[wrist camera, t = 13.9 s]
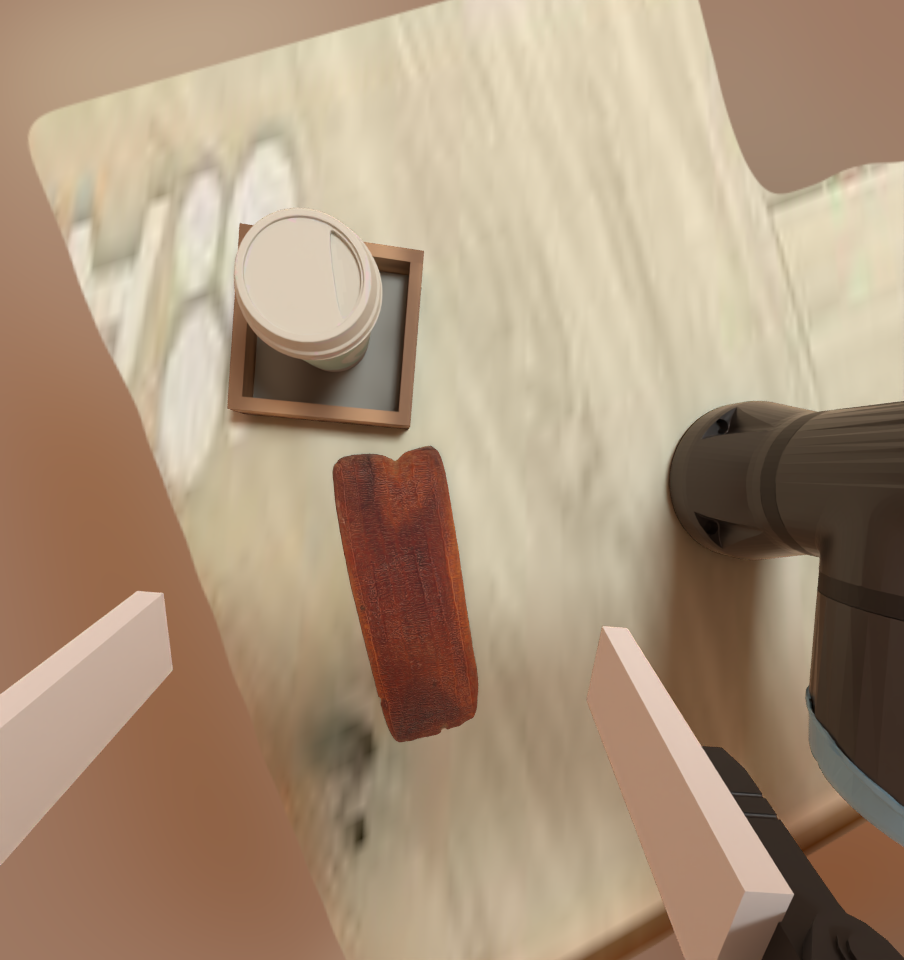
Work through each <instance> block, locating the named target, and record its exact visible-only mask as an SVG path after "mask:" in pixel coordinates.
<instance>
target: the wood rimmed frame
mask: <svg viewBox="0 0 904 960" xmlns="http://www.w3.org/2000/svg"><path fill="white" fill-rule="evenodd" d="M253 226H254V225H247V224H241V223H240V227H239V242H238V249H239V246H240V244H241V242H242V240H243V238H244V237H245V235H246V234H247V232H248V231H249V230H250V229H251V227H253ZM364 243H365V245H366V246H367V248H368V249H369V251H370V252H371V254H372V256H373V258H374V260H375V262H376V264H377V267H378V270H379V273H380V277H381V282H382V305H381V309H380V313H379V316H378V319H377V321H376V323H375V325H374V327H373V329H372V330H371V335H370V340H369V344H368V348H367V351H366V353H365V355H364V357H363V358H362V360H361V361H360V362H359V363H358V364H357V365H355V366H354V367H352V368H351V369H348V370H346V371H342V372H328V371H324V370H321V369H319V368H317V367H315V366H313V365H311V364H309V363H308V362H306V361H304V360H302V359H298V358H294V357H291V356H288V355H285V354H283V353H281V352H279V351H277V350H275V349H273V348H272V347H270V346H269V345H267V344H266V343H265V342H264V341H263V340H261V339H260V338H259V337H258V336H257V335H256V334H255V332H254V331H253V330H252V329H251V327H250V326H249V324H248V323H247V321H246V319H245V318H244V316H243V313H242V311H241V309H240V306H239V304H238V301H237V297H236V293H235V302H234V316H233V331H232V346H231V361H230V376H229V391H228V406H227V408H228V409H231V410H234V411H237V412H240V413H243V414H253V415H264V416H274V417H285V418H296V419H307V420H317V421H328V422H339V423H349V424H360V425H371V426H382V427H392V428H403V429H409V427H410V421H411V409H412V396H413V383H414V371H415V358H416V345H417V333H418V320H419V307H420V295H421V282H422V269H423V257H424V251H420V250H414V249H407V248H401V247H394V246H387V245H381V244H374V243H367V242H364Z"/></svg>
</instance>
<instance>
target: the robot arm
mask: <svg viewBox="0 0 904 960" xmlns="http://www.w3.org/2000/svg"><path fill="white" fill-rule="evenodd" d="M670 493H671V499H672V503H673V506H674V509H675V512H676V515H677V517H678V519H679V521H680V522H681V524H682V526H683V527H684V529H685V530H686V531H687V532H688V533H689V535H690V536H691V537H692V538H693V539H694V540H696V541H697V542H698V543H699V544H701V545H702V546H704V547H706V548H707V549H710V550H712V551H714V552H717V553H721V554H724V555H728V556H731V557H735V558H740V559H748V560H760V559H770V558H779V557H788V556H798V555H811V556H816V557H820V561H819V578H818V588H817V600H816V611H815V623H814V635H813V647H812V659H811V671H810V683H809V686H808V687H807V689H806V697H805V699H806V705H807V708H808V711H809V744H810V748H811V752H812V754H813V756H814V758H815V759H816V761H817V762H818V765H819V768H820V769H821V771H822V773H823V775H824V776H825V778H826V779H827V780H828V782H829V783H830V784H831V785H832V787H833V788H834V789H835V790H836V791H837V792H838V793H839V795H840V796H841V797H842V798H843V799H844V800H845V801H846V802H847V803H848V804H849V805H850V806H852V807H853V808H854V809H855V810H856V811H857V812H858V813H859V814H860V815H862V816H863V817H864V818H865V819H866V820H868V821H869V822H870V823H871V824H873V825H874V826H875V827H876V828H878V829H879V830H880V831H882V832H883V833H884V834H886V835H887V836H888V837H890V838H891V839H893V840H894V841H896V842H897V843H898V844H900V845H902V846H903V847H904V401H901V402H893V403H885V404H877V405H869V406H861V407H853V408H845V409H836V410H829V411H821V412H816V411H811V410H806V409H802V408H797V407H792V406H787V405H783V404H778V403H773V402H767V401H748V402H742V403H736V404H730V405H725V406H722V407H719V408H716V409H714V410H712V411H710V412H708V413H707V414H705V415H704V416H702V417H701V418H700V419H698V420H697V421H696V422H695V423H694V424H693V425H692V426H691V427H690V428H689V429H688V431H687V432H686V433H685V435H684V436H683V438H682V439H681V441H680V443H679V445H678V447H677V449H676V452H675V455H674V457H673V461H672V466H671V472H670ZM172 671H173V666H172V659H171V650H170V642H169V634H168V626H167V618H166V610H165V602H164V594H163V593H156V592H143V591H137V592H135V593H134V594H133V595H131V596H130V597H129V598H127V599H126V600H125V601H124V602H122V603H121V604H120V605H118V606H117V607H116V608H114V609H113V610H112V611H110V612H109V613H108V614H106V615H105V616H104V617H102V618H101V619H100V620H98V621H97V622H96V623H94V624H93V625H92V626H90V627H89V628H88V629H86V630H85V631H84V632H83V633H81V634H80V635H78V636H77V637H76V638H74V639H73V640H72V641H71V642H69V643H68V644H67V645H65V646H64V647H63V648H61V649H60V650H59V651H57V652H56V653H55V654H53V655H52V656H51V657H49V658H48V659H47V660H45V661H44V662H43V663H41V664H40V665H39V666H37V667H36V668H35V669H33V670H32V671H31V672H30V673H28V674H27V675H25V676H24V677H23V678H21V679H20V680H19V681H18V682H16V683H15V684H13V685H12V686H11V687H10V688H8V689H7V690H6V691H4V692H3V693H2V694H0V865H1V864H2V863H3V862H4V861H5V860H6V859H7V857H8V856H9V855H10V854H11V853H12V852H13V851H14V849H15V848H16V847H17V846H18V845H19V844H20V843H21V842H22V840H23V839H24V838H25V837H26V836H27V835H28V834H29V832H30V831H31V830H32V829H33V828H34V827H35V826H36V825H37V823H38V822H39V821H40V820H41V819H42V818H43V816H45V814H46V813H47V812H48V811H49V810H50V809H51V808H52V806H53V805H54V804H55V803H56V802H57V801H58V800H59V799H60V797H61V796H62V795H63V794H64V793H65V792H66V791H67V789H68V788H69V787H70V786H71V785H72V784H73V783H74V782H75V780H76V779H77V778H78V777H79V776H80V775H81V773H83V771H84V770H85V769H86V768H87V767H88V766H89V765H90V763H91V762H92V761H93V760H94V759H95V758H96V756H97V755H98V754H99V753H100V752H101V751H102V750H103V749H104V748H105V747H106V745H107V744H108V743H109V742H110V741H111V739H112V738H113V737H114V736H115V735H116V734H117V733H118V732H119V731H120V730H121V728H122V727H123V726H124V725H125V724H126V723H127V722H128V720H129V719H130V718H131V717H132V716H133V715H134V714H135V713H136V711H137V710H138V709H139V708H140V707H141V706H142V705H143V704H144V702H145V701H146V700H147V699H148V698H149V697H150V696H151V694H152V693H153V692H154V691H155V690H156V689H157V688H158V687H159V685H160V684H161V683H162V682H163V681H164V680H165V679H166V677H167V676H168V675H169V674H170V673H171V672H172ZM587 702H588V705H589V708H590V710H591V713H592V716H593V718H594V721H595V724H596V726H597V729H598V731H599V734H600V737H601V739H602V742H603V745H604V747H605V750H606V753H607V755H608V758H609V761H610V763H611V766H612V768H613V771H614V774H615V776H616V779H617V782H618V784H619V787H620V790H621V792H622V795H623V797H624V800H625V803H626V805H627V808H628V811H629V813H630V816H631V819H632V821H633V824H634V826H635V829H636V832H637V834H638V837H639V840H640V842H641V845H642V848H643V850H644V853H645V855H646V858H647V861H648V863H649V866H650V869H651V871H652V874H653V877H654V879H655V882H656V885H657V887H658V890H659V892H660V895H661V898H662V900H663V903H664V906H665V908H666V911H667V914H668V916H669V919H670V921H671V924H672V927H673V929H674V932H675V935H676V937H677V940H678V943H679V945H680V948H681V950H682V953H683V955H684V958H685V960H904V958H903V957H902V956H901V955H900V953H899V952H898V951H897V950H896V949H895V948H894V947H893V946H892V945H891V944H890V943H889V942H888V941H887V940H886V939H885V938H884V937H882V936H881V935H880V934H879V933H877V932H876V931H875V930H874V929H872V928H871V927H870V926H868V925H867V924H866V923H864V922H862V921H860V920H858V919H857V918H855V917H853V916H851V915H849V914H847V913H846V912H845V911H844V910H843V908H842V907H841V906H840V905H839V904H838V902H837V901H836V899H835V898H834V896H833V895H832V893H831V892H830V891H829V889H828V888H827V887H826V885H825V884H824V882H823V881H822V879H821V878H820V876H819V875H818V873H817V872H816V870H815V869H814V868H813V866H812V865H811V863H810V862H809V860H808V859H807V857H806V856H805V855H804V853H803V852H802V850H801V849H800V847H799V846H798V845H797V843H796V842H795V840H794V839H793V837H792V836H791V834H790V833H789V832H788V830H787V829H786V827H785V826H784V824H783V823H782V822H781V820H778V819H777V816H776V813H775V811H774V810H773V809H772V807H771V806H770V804H769V803H768V801H767V800H766V799H765V798H763V797H762V793H761V791H760V790H759V788H758V787H757V786H756V784H755V783H754V781H753V780H752V778H751V777H750V776H749V774H748V773H747V771H746V770H745V769H744V768H743V767H742V766H741V765H740V764H739V763H738V762H737V761H736V760H735V759H734V758H732V757H731V756H730V755H729V754H728V753H727V752H726V751H725V750H724V749H723V748H720V747H705V746H701V745H700V743H699V742H698V740H697V738H696V737H695V735H694V734H693V732H692V730H691V729H690V727H689V726H688V724H687V722H686V721H685V719H684V718H683V716H682V714H681V713H680V711H679V710H678V708H677V706H676V705H675V703H674V702H673V700H672V698H671V697H670V695H669V694H668V692H667V690H666V689H665V687H664V686H663V684H662V683H661V681H660V679H659V678H658V676H657V675H656V673H655V671H654V670H653V668H652V667H651V665H650V663H649V662H648V660H647V659H646V657H645V655H644V654H643V652H642V651H641V649H640V647H639V646H638V644H637V643H636V641H635V639H634V638H633V636H632V635H631V633H630V631H629V630H628V628H621V627H608V626H602V630H601V634H600V639H599V644H598V648H597V653H596V658H595V663H594V667H593V672H592V677H591V681H590V686H589V691H588V695H587Z"/></svg>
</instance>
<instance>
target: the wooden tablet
mask: <svg viewBox="0 0 904 960" xmlns="http://www.w3.org/2000/svg"><path fill="white" fill-rule="evenodd" d="M333 478H334V488H335V500H336V508H337V514H338V520H339V525H340V532H341V537H342V543H343V548H344V554H345V558H346V564H347V568H348V573H349V578H350V583H351V587H352V592H353V595H354V599H355V603H356V607H357V612H358V615H359V620H360V624H361V629H362V633H363V636H364V640H365V644H366V648H367V653H368V656H369V660H370V664H371V668H372V673H373V676H374V680H375V684H376V688H377V692H378V696H379V697H380V698H381V706H382V709H383V713H384V716H385V719H386V722H387V725H388V728H389V730H390V732H391V734H392V736H393V737H394V739H395V740H396V741H398V742H404V741H412V740H415V739H417V738H422V737H427V736H432V735H437V734H439V733H440V732H441V730H442V729H443V728H445V729H450V728H453V727H457V726H460V725H461V724H463V723H464V722H465V721H467V720H469V719H471V718H473V717H474V715H475V712H476V709H477V696H478V676H477V668H476V663H475V658H474V652H473V647H472V640H471V633H470V627H469V621H468V615H467V609H466V602H465V594H464V586H463V579H462V572H461V565H460V558H459V551H458V544H457V539H456V532H455V526H454V521H453V516H452V509H451V502H450V496H449V491H448V484H447V479H446V473H445V470H444V466H443V462H442V459H441V457H440V455H439V452H438V451H437V450H436V449H435V448H433V447H432V446H425V447H421V448H418V449H414V450H411V451H408V452H406V453H404V454H403V455H402V456H401V457H400V458H399V459H398V460H397V461H393V460H392V459H390V458H388V457H386V456H383V455H377V454H361V455H351V456H346V457H343V458H341V459H339V460H338V462H337V463H336V464H335V465H334V470H333Z"/></svg>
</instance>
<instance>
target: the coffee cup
mask: <svg viewBox="0 0 904 960" xmlns="http://www.w3.org/2000/svg"><path fill="white" fill-rule="evenodd" d="M234 286H235V293H236V297H237V301H238V304H239V306H240V309H241V311H242V313H243V316H244V318H245V319H246V321H247V323H248V324H249V326H250V327H251V329H252V330H253V331H254V332H255V334H256V335H257V336H258V337H259V338H260V339H261V340H263V341H264V342H265V343H266V344H267V345H269V346H270V347H272V348H273V349H275V350H277V351H279V352H281V353H283V354H285V355H288V356H291V357H294V358H298V359H302V360H304V361H306V362H308V363H309V364H311V365H313V366H315V367H317V368H319V369H321V370H324V371H328V372H342V371H346V370H348V369H351V368H352V367H354V366H355V365H357V364H358V363H359V362H360V361H361V360H362V358H363V357H364V355H365V353H366V351H367V348H368V344H369V340H370V335H371V330H372V329H373V327H374V325H375V323H376V321H377V319H378V316H379V313H380V309H381V305H382V282H381V277H380V273H379V270H378V267H377V264H376V262H375V260H374V258H373V256H372V254H371V252H370V251H369V249H368V248H367V246H366V245H365V243H364V242H363V241H362V240H361V239H360V237H359V236H358V235H357V234H355V233H354V232H353V231H352V230H351V229H350V228H348V227H347V226H346V225H344V224H343V223H342V222H341V221H339V220H338V219H336V218H334V217H332V216H331V215H328V214H326V213H324V212H321V211H317V210H314V209H307V208H289V209H283V210H280V211H276V212H274V213H271V214H269V215H267V216H266V217H264V218H262V219H261V220H259V221H258V222H257V223H256V224H255V225H254V226H253V227H251V229H250V230H249V231H248V232H247V234H246V235H245V237H244V238H243V240H242V242H241V244H240V246H239V249H238V252H237V256H236V260H235V272H234Z"/></svg>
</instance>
